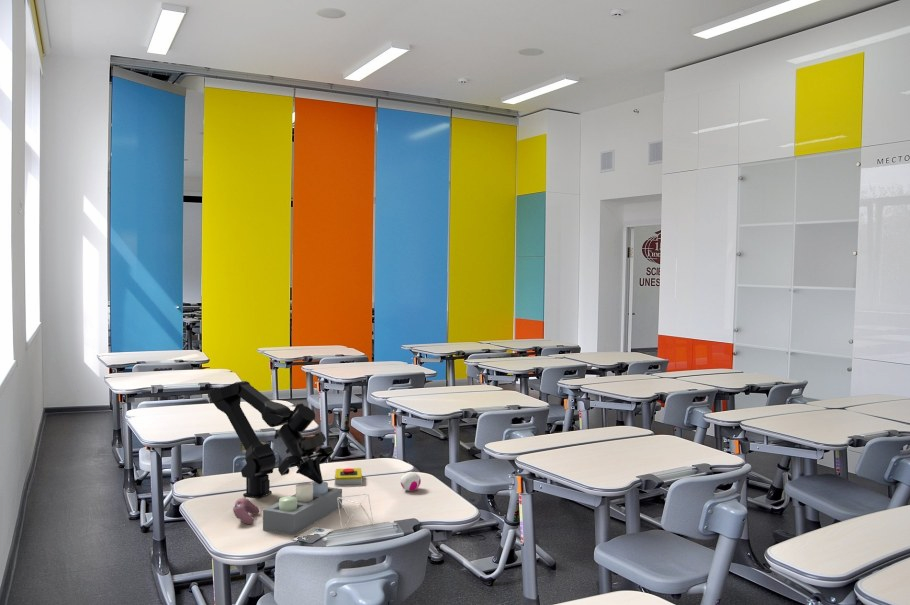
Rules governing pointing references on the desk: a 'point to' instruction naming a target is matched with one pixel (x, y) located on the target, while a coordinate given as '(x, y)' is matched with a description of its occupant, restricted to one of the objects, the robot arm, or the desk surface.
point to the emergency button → (348, 477)
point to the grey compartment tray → (301, 513)
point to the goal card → (313, 532)
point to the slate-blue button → (320, 488)
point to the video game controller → (245, 510)
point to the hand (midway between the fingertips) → (321, 483)
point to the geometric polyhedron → (356, 509)
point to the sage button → (288, 503)
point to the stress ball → (410, 481)
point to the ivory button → (304, 492)
